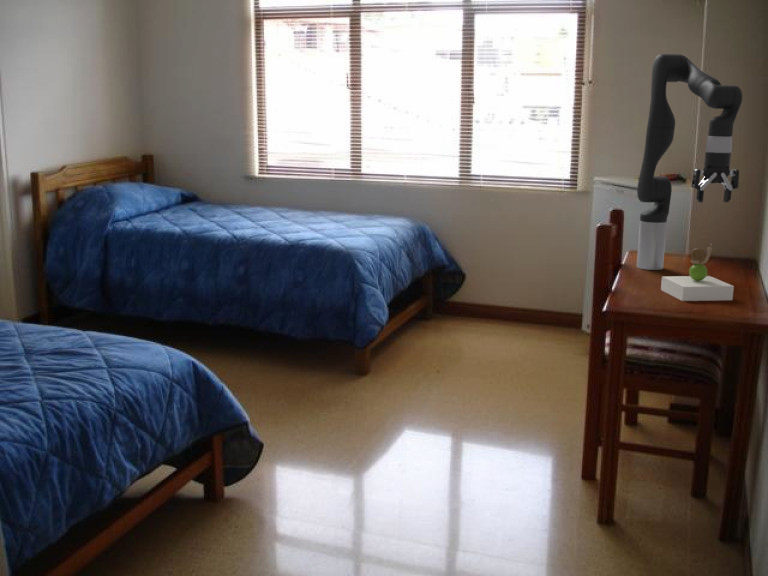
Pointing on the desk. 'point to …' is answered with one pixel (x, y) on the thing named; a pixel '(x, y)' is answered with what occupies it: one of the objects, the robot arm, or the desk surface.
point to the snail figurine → (699, 263)
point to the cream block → (696, 288)
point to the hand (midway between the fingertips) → (713, 202)
